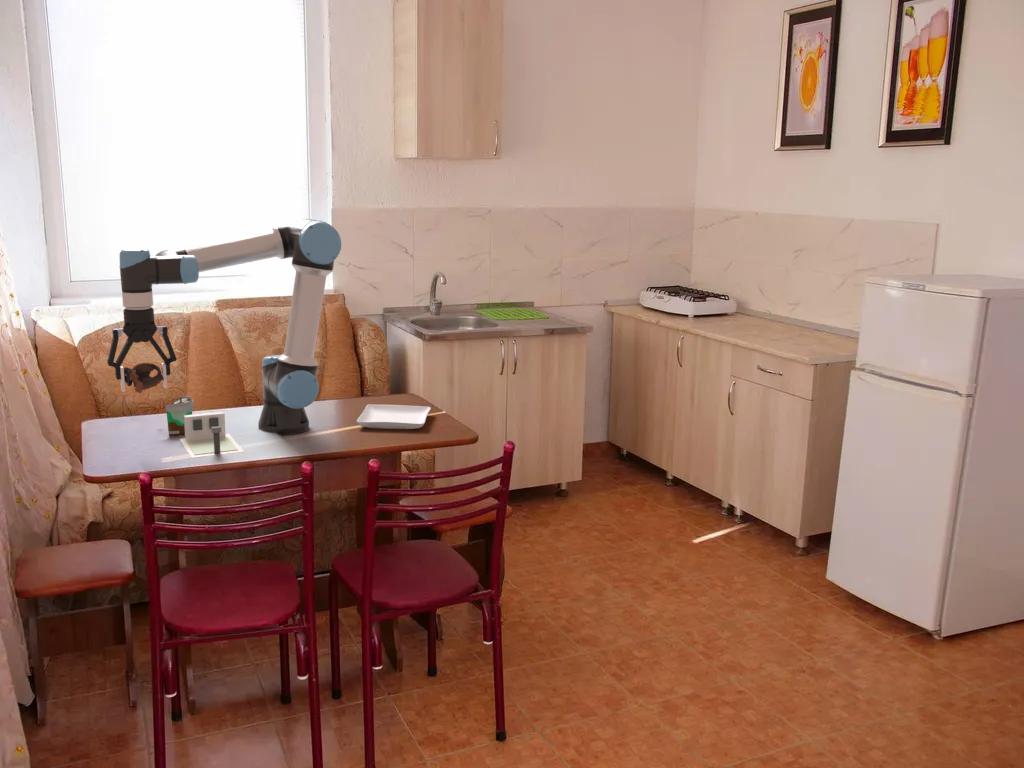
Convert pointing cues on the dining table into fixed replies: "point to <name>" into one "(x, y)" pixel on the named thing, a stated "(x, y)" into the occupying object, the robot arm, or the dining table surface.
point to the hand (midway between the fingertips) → (144, 388)
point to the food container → (178, 415)
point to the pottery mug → (142, 376)
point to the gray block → (216, 438)
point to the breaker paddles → (198, 423)
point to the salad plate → (393, 416)
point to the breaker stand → (207, 436)
